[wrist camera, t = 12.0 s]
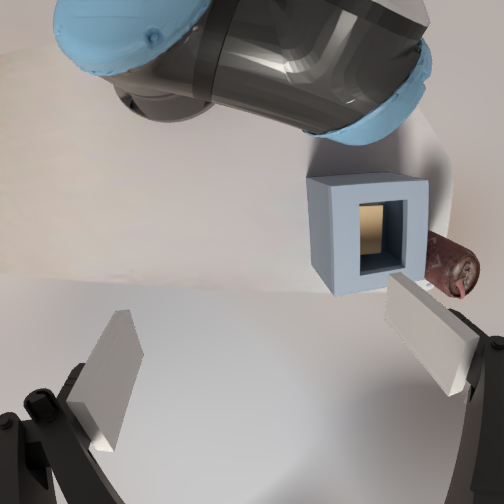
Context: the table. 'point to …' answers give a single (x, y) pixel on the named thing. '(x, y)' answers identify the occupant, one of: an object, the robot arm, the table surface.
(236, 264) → the table surface
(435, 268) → the can
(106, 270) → the table surface
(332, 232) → the coin box
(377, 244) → the wooden block
